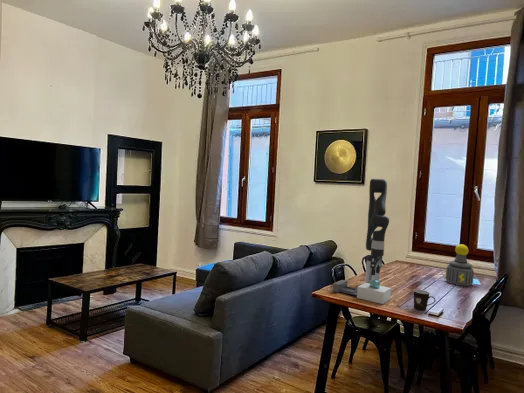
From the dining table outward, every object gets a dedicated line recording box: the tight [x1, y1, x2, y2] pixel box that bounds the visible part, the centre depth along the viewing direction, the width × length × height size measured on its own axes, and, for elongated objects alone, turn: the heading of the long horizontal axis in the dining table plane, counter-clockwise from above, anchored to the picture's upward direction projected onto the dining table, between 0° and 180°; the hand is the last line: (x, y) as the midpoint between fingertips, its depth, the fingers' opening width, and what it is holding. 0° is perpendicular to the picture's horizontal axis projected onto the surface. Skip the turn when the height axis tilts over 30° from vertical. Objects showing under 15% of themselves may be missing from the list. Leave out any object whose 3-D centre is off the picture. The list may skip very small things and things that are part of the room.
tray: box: [332, 279, 358, 297], centre depth 242 cm, size 14×18×5 cm
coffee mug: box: [413, 289, 436, 312], centre depth 219 cm, size 12×9×10 cm
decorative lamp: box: [445, 243, 475, 287], centre depth 293 cm, size 19×19×30 cm
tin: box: [369, 280, 381, 289], centre depth 234 cm, size 6×6×4 cm
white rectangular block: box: [356, 282, 392, 305], centre depth 234 cm, size 14×16×7 cm
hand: (375, 274), depth 233 cm, fingers open, 8 cm apart
